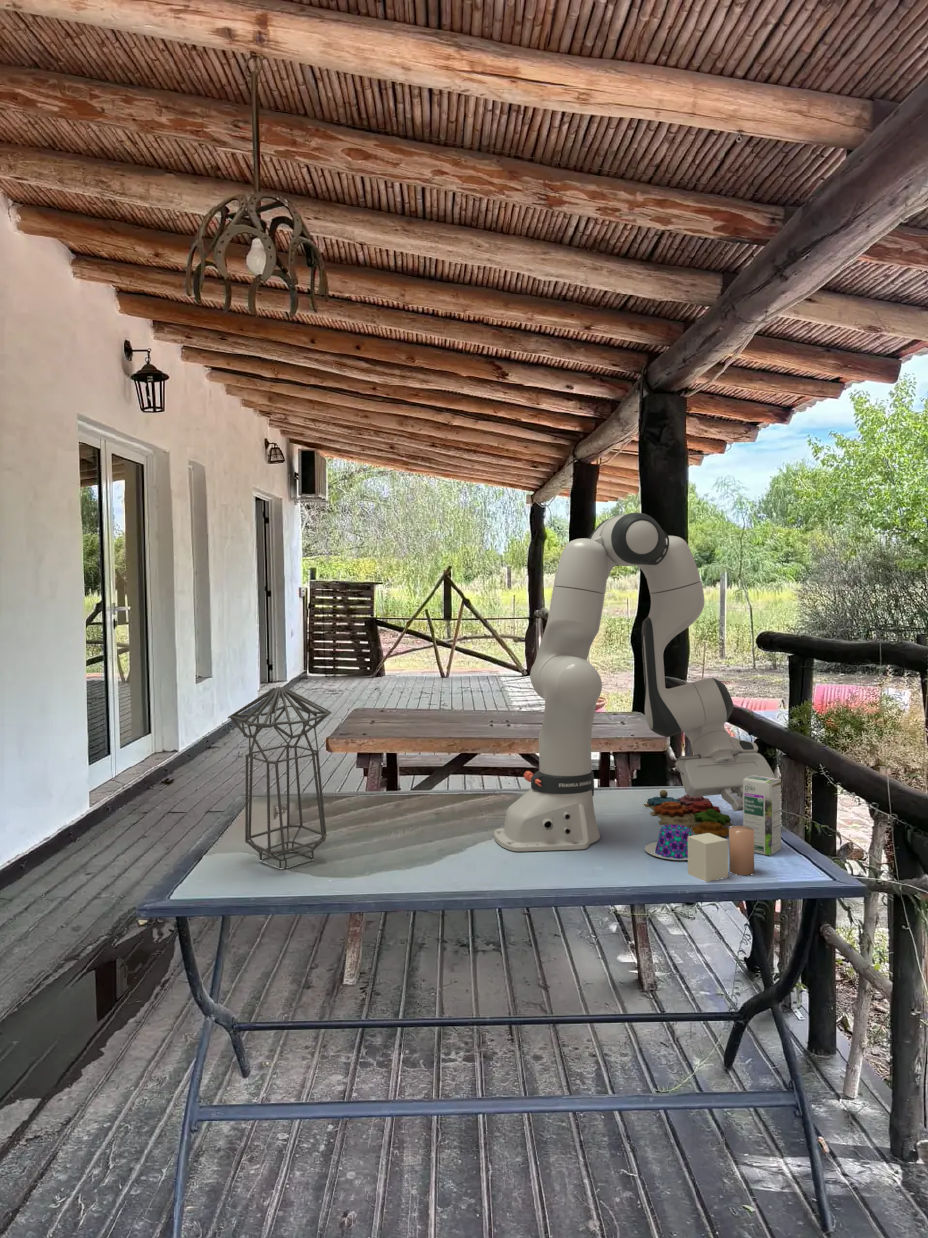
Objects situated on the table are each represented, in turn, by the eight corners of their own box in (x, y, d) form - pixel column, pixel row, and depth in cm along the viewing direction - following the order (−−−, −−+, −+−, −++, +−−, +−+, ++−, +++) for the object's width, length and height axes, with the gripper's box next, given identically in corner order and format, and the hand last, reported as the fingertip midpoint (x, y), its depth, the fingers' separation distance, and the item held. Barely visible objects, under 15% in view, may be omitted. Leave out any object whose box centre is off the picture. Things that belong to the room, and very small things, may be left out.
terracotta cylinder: (737, 877, 150) (737, 833, 150) (724, 869, 155) (724, 827, 154) (759, 874, 151) (759, 831, 151) (745, 867, 156) (745, 825, 155)
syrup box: (741, 850, 165) (741, 778, 165) (754, 843, 170) (754, 773, 169) (770, 856, 161) (769, 783, 161) (782, 849, 166) (781, 777, 165)
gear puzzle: (750, 841, 173) (750, 822, 173) (673, 843, 173) (673, 824, 172) (705, 803, 204) (705, 786, 204) (640, 804, 204) (639, 788, 204)
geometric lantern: (341, 860, 164) (335, 685, 162) (272, 883, 153) (264, 695, 151) (297, 843, 175) (291, 679, 173) (229, 863, 164) (222, 688, 162)
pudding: (648, 863, 160) (648, 836, 160) (642, 844, 172) (641, 819, 172) (712, 864, 158) (711, 837, 158) (701, 845, 170) (701, 819, 170)
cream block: (706, 882, 148) (705, 843, 148) (688, 874, 153) (687, 836, 152) (728, 878, 150) (727, 840, 150) (709, 869, 155) (709, 832, 154)
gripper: (678, 748, 176) (702, 805, 167) (762, 742, 181) (790, 797, 172) (668, 765, 181) (691, 821, 172) (750, 759, 186) (777, 813, 177)
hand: (741, 809), depth 172 cm, fingers closed
